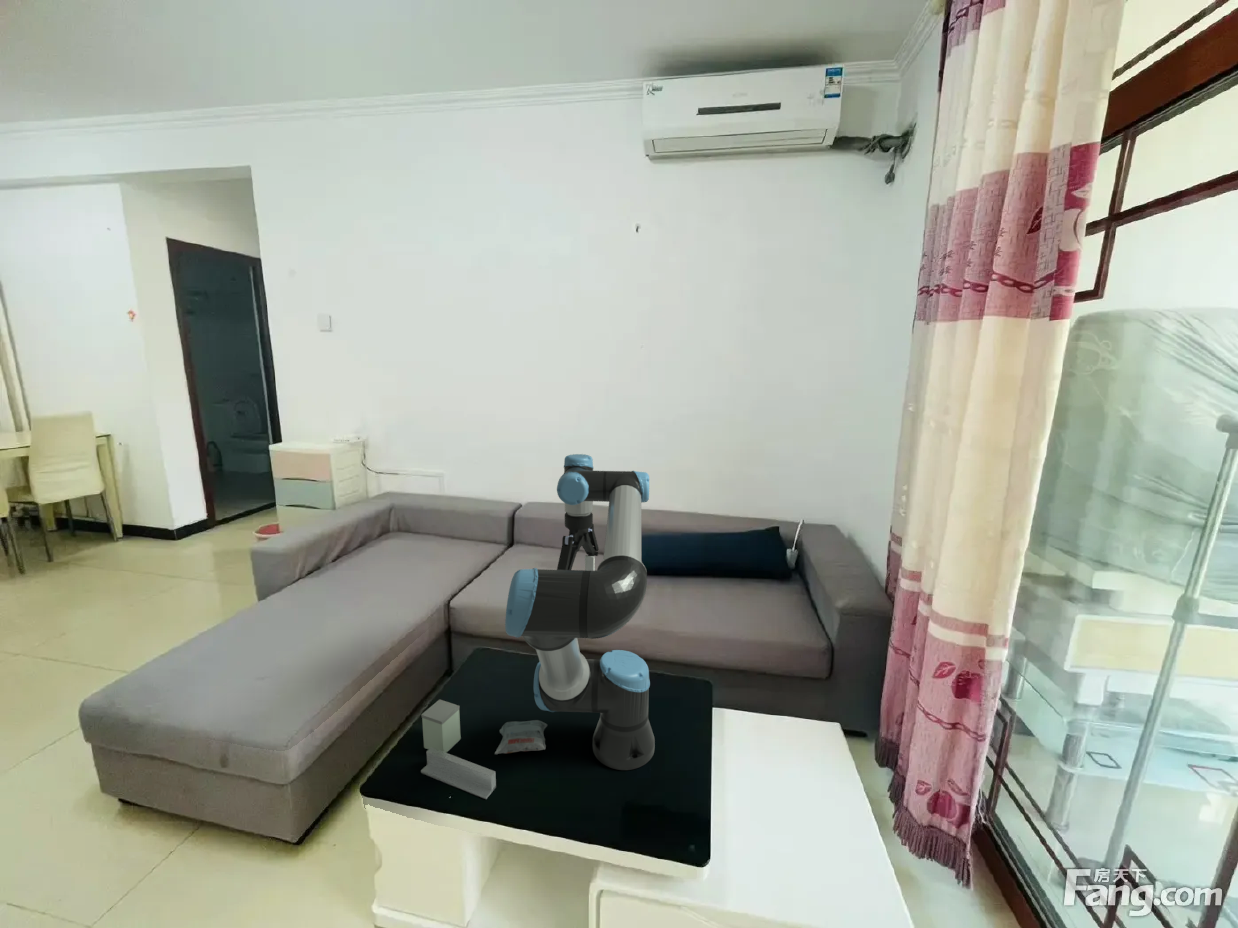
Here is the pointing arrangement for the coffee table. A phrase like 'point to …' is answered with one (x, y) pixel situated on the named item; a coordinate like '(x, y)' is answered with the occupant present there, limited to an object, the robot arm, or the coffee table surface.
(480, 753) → the coffee table surface
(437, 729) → the tea tin
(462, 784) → the rail
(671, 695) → the coffee table surface
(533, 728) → the packaged food
